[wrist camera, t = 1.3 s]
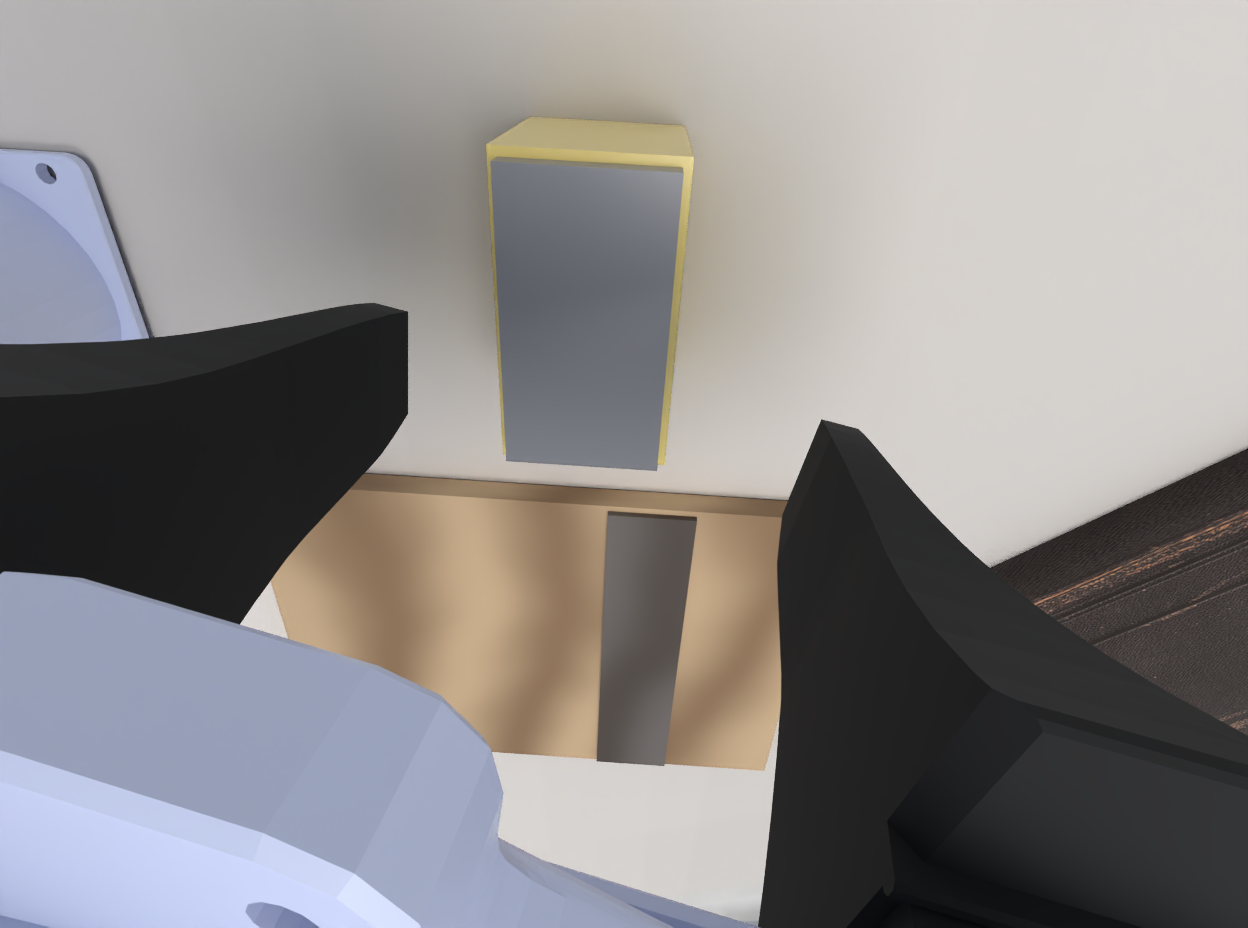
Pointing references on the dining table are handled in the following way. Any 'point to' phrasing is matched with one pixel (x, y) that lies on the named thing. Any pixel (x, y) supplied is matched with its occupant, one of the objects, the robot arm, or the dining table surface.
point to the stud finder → (588, 286)
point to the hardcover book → (1159, 587)
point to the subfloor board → (557, 612)
